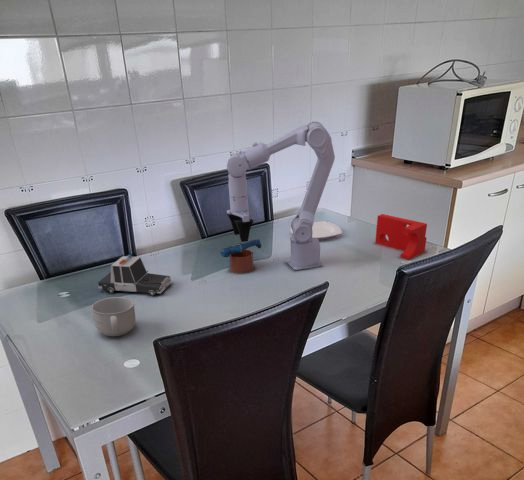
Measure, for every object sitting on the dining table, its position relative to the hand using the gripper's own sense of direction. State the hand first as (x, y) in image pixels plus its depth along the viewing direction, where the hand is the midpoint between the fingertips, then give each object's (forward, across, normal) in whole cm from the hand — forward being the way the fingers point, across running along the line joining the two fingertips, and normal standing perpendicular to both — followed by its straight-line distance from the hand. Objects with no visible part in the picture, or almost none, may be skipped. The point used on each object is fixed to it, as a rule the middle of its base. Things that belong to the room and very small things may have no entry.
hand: (241, 237), depth 164 cm
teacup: (+10, +31, -44) cm, 55 cm away
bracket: (+11, +6, +55) cm, 56 cm away
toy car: (+10, +3, -36) cm, 38 cm away
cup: (+10, +1, -1) cm, 10 cm away
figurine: (+5, +1, -1) cm, 5 cm away
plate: (+9, -21, +36) cm, 43 cm away
